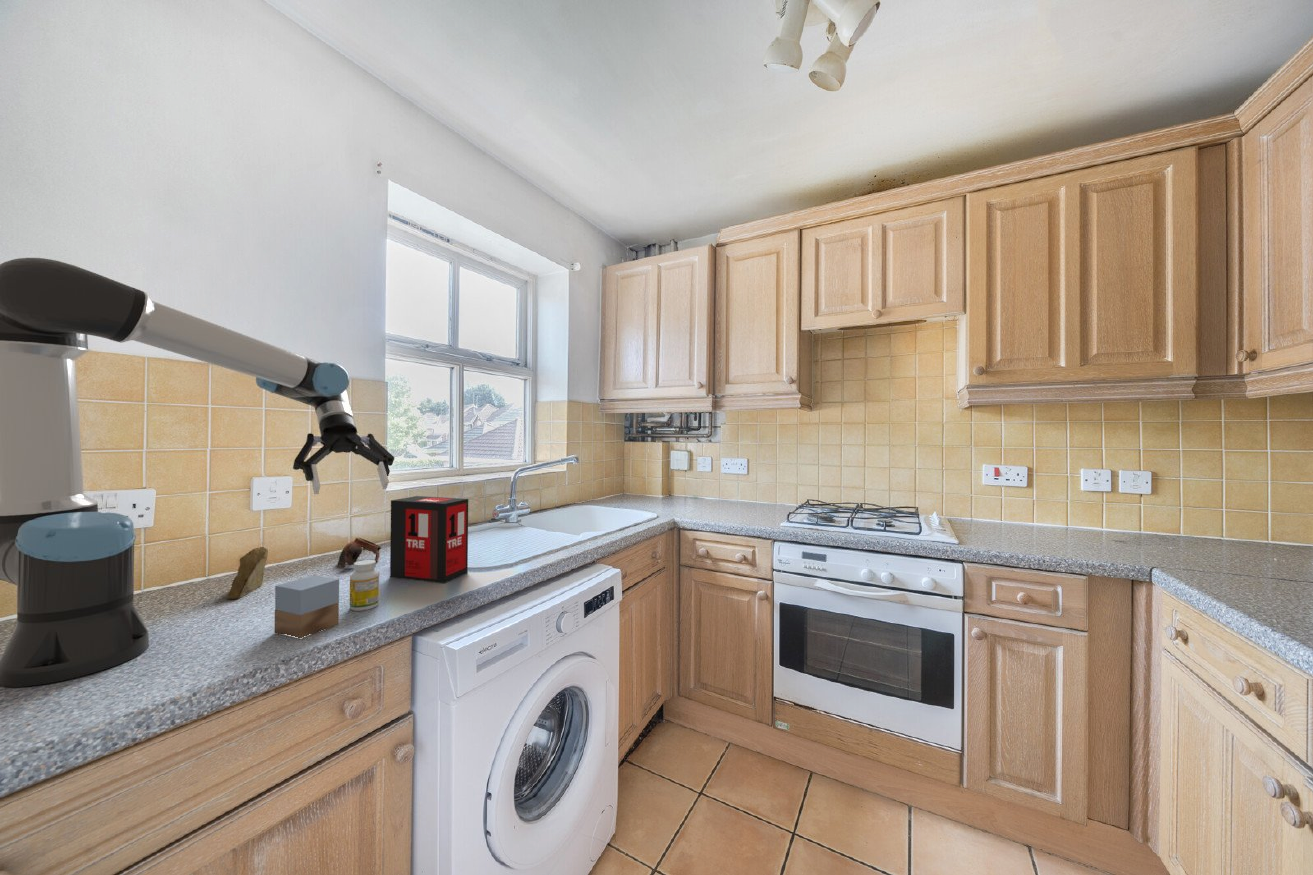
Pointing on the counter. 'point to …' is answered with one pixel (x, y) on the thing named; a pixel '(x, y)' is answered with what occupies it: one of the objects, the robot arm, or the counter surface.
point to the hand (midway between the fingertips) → (353, 487)
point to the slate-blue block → (306, 594)
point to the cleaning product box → (429, 538)
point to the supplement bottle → (364, 586)
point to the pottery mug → (357, 551)
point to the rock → (249, 573)
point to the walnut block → (306, 621)
